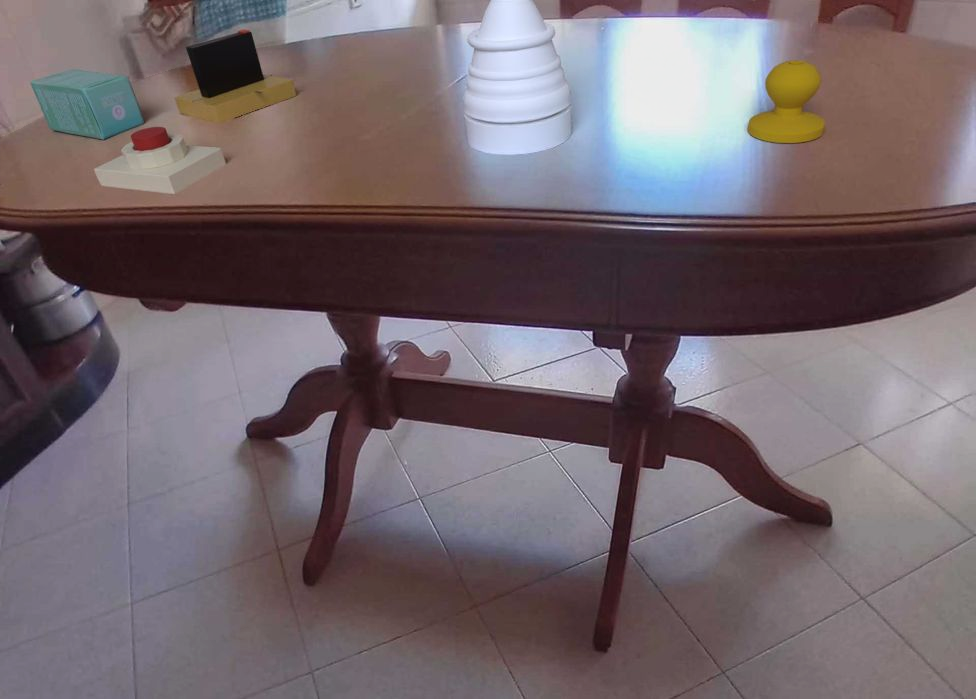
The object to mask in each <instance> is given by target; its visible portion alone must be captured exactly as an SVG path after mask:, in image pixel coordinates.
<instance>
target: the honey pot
mask: <svg viewBox="0 0 976 699" xmlns="http://www.w3.org/2000/svg"><path fill="white" fill-rule="evenodd" d="M479 25H480V26H479V28H477V29H474V30H473V31H472V32H470V33H469V34H468V35H467V40H466V42H467V43H468V45H469V46H470V47H471V48H473V53H472V58H471V61H470V63H469V64H468V69H467V71H468V75H467V78H466V84H465V85H466V88H465V89H464V92H463V96H462V104H463V111H464V115H463V117H464V118H463V119H464V125H465V126H464V127H465V135H466V142H467V145H469V147H471V148H472V149H473V150H476V151H478V152H481V153H485V154H491V155H497V156H516V155H517V156H519V155H528V154H529V155H530V154H534V153H539V152H544V151H547V150H549V149H553V148H556V147H558V146H560V145H562V144H565V142H567V141H568V140H569V139H570V138H571V135H572V132H573V131H572V129H573V128H572V104H571V102H572V100H571V94H572V92H571V88H570V83H569V82H568V80H567V79H566V78H565V77H566V75H565V71H564V68H563V67H562V60H561V56H560V55H558V53H557V49H556V48H555V45H554V43H553V38H555V35H556V29H555V27H554V26H552V25H551V24H549V23H546V22H545V21H544V18H543V16H542V14H541V12H540V10H539V9H538V7H537V5H536V4H535V2H534V0H490V1H489V3H488V5H487V7H486V9H485V11H484V13H483V16H482V20H481V23H480V24H479Z"/></svg>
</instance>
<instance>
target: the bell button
mask: <svg viewBox="0 0 976 699" xmlns="http://www.w3.org/2000/svg"><path fill="white" fill-rule="evenodd" d="M167 133H168V131H167V128H165V127H163V126H151V127H145V128H142V129H139V130H137V131H134V132H133V133H132V134H130V139H131V142H133V144H134V147H135V149H136V151H147V150H153V149H157V148H160V147H163V146H165V145H167V144H169V143H171V142H170V139H169V136H168V134H169V133H168V134H167Z"/></svg>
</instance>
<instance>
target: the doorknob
mask: <svg viewBox="0 0 976 699" xmlns="http://www.w3.org/2000/svg"><path fill="white" fill-rule="evenodd" d="M821 84H822V76H821V74H820V71H819V69H818V68H817V67H816V66H815V65H814V64H812V63H810V62H808V61H805V60H801V59H799V60H798V59H795V60H794V59H793V60H786V61H783V62H780V63H779V64H777V65H775V66H774V67H773V68H771V70H770V71H769V72H768V74H767V76H766V78H765V82H764V85H765V90H766V93H767V95H768V97H769V99H770V100H771V101H772V103H773V104H774V109H771V110H767V111H763V112H759V113H756V114H754V115H753V116H751V117H750V118H749V120H748V123H747V132H748V134H749V135H751V136H752V137H753V138H755V139H758V140H761V141H764V142H768V143H774V144H775V143H777V144H800V143H806V142H810V141H814V140H816V139H819V138H821V136H823V134H824V132H825V128H826V121H825V119H824V118H823V117H821V116H819V115H817V114H816V113H812V112H810V111H806V110H804V105H805V104H807V103H808V102H809V101H810V100H811V99H812V98H813V97H814V96H815V95H816V93H817V92H818V91H819V89H820V86H821Z"/></svg>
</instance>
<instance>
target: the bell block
mask: <svg viewBox="0 0 976 699" xmlns="http://www.w3.org/2000/svg"><path fill="white" fill-rule="evenodd" d="M167 134H168V136H169V139H170V142H171V143H169V144H167V145H165V146H163V147H160V148H157V149H153V150H147V151H136V149H135V147H134V144H133V142H132V141H131V142H128V143H126V144H125V145H124V147H122V149H121V150H120V151H121V154H122V155H120V156H118V157H116V158H113V159H111V160H109V161H107V162H105V163H103V164H101V165H98V166H97V167H95V168H93V171H94V174H95V175H96V178H97V181H98V182H99V185H100V186H101V187H108V188H109V187H110V188H118V189H124V190H125V189H126V190H134V191H135V190H136V191H144V192H151V193H161V194H168V195H169V194H170V195H171V194H172V195H176V194H178V193H179V192H181V191H182V190H185V189H186V188H189V187H190V186H192V185H193V184H195V183H197V182H198V181H200V180H202V179H204V178H205V177H207V176H209V175H211V174H212V173H214V172H216V171H218V170H220V169H222V168H223V167H225V166H226V165H227V162H226V159H225V156H224V153H223V149H222V148H221V147H214V146H203V145H202V146H201V145H189V144H188V145H187V144H186V142H185V139H184V137H183V136H182V135H181V134H179V133H169V132H167Z"/></svg>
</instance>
